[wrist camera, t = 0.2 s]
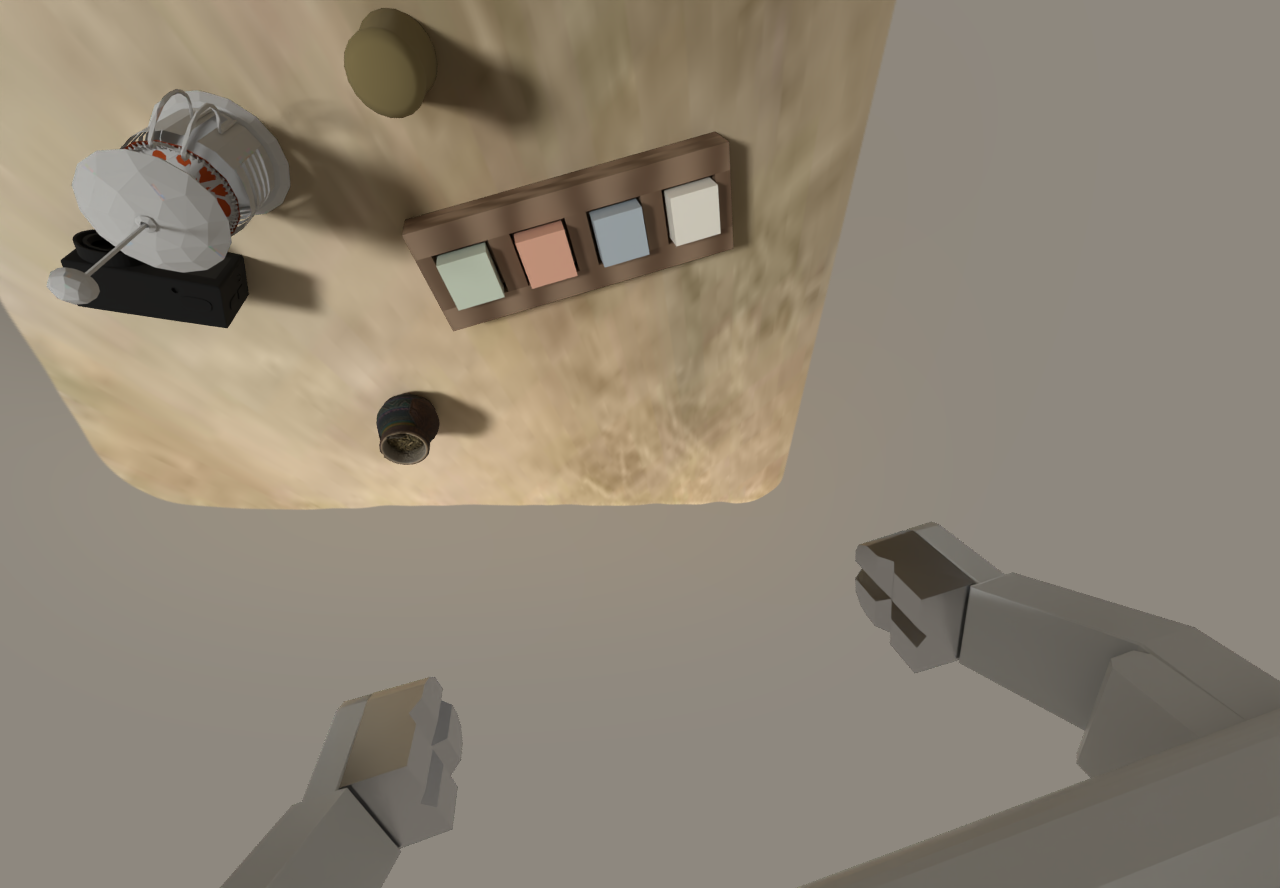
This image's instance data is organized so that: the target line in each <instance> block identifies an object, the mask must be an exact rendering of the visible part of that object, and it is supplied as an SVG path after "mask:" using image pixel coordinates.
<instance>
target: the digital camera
mask: <svg viewBox="0 0 1280 888" xmlns="http://www.w3.org/2000/svg"><path fill="white" fill-rule="evenodd" d="M73 242H74V245H75V247H76V249H75V250H73V251H72V252H71V253H69V254H68V255H67V256H65V257H64V258H63V259H62V260H61V263H62V266H63V267H66V268H72V269H76V270H79V271H81V272H84V273H85V272H87V271H88V270H89V269H90V268H91V267H92V266H94V265H95V264H96V263H97V262H98V261H99V260H101V259H102V258H103V257H104V256H105V255H107V254H108V253H109V252H110V251H111V250H112V249H114V248H115V246H114V245H112V244H111V243H110V242H108V241H107V240H106V239H104V238H103V237H102V236H100V235H99V234H98V232H97V231H96V230H87V231H82V232H79V233H77V234H76V235H75V236H74V237H73ZM239 263H240V264H239ZM90 277H92V278H93V279H94V280H95V282H96V283H97V284H98V287H99V290H100V292H99V294H98V296H97V298H96V299H94V300H92V301H91V302H89V303H88V304H77V305H78V306H82V307H88V308H94V309H101V310H107V311H114V312H120V313H127V314H134V315H140V316H147V317H154V318H161V319H167V320H174V321H181V322H188V323H194V324H201V325H208V326H215V327H222V328H228V327H229V325H230V324H231V322H232V321H233V319H234V317H235V316H236V314H237V312H238V311H239V309H240V308H241V306H242V304H243V303H244V301H245V299H246V298H247V296H248V295H249V293H248V286H247V279H246V271H245V264H244V258H243V256H242V255H238V254H233V253H228V252H227V254H226V256H225V258H224V260H222V261H221V262H219V263H217V264H216V265H214V266H213V267H211V268H209V269H208V270H202V271H193V272H184V273H182V272H177V271H172V270H166V269H161V268H155V267H153V266H151V265H148V264H146V263H144V262H142V261H139V260H137V259H135V258H133V257H130V256H128V255H126V254H124V253H123V252H122V251H119V252H117V253H116V254H115V255H114V256H113V257H112V258H111V259H109V260H108V261H107V262H106V263H105V264H104V265H102V266H101V267H100V268H99V269H98V270H97V271H96V272H94V273H93V274H92V275H91V276H90ZM240 278H241V279H240ZM239 280H240V281H239Z"/></svg>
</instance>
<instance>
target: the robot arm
mask: <svg viewBox="0 0 1280 888" xmlns="http://www.w3.org/2000/svg"><path fill="white" fill-rule="evenodd" d="M856 562H857V563H858V564H859V565H860V566H861V568H862V569H861V571H860V572H859V574H858V575H857V577H856V579H855V581H856V593H857V596H858V599H859V602H860V605H861V607H862V608H863V610H864V612H865V613H866V615H867V616H868V618H869V619H870V620H871V622H872V623H873V624H874V625H875V626H877V627H879V628H881V629H883V630H886V631H888V632H890V644H891V646H892V647H893V648H894V649H895V651H896V652H897V653H898V654H899V655H900V657H901V658H902V659H903V660H904V661H905V662H906V664H907V665H908V666H909V667H910V668H911V669H912V671H913V672H914V673H918V672H921V671H925V670H928V669H931V668H934V667H938V666H941V665H944V664H948V663H951V662H954V661H957V660H959V663H960V664H962V665H964V666H966V667H968V668H970V669H972V670H973V671H975V672H977V673H979V674H981V675H983V676H984V677H986V678H988V679H990V680H992V681H994V682H995V683H998V684H999V685H1001V686H1003V687H1005V688H1007V689H1008V690H1010V691H1012V692H1014V693H1016V694H1018V695H1020V696H1021V697H1023V698H1025V699H1027V700H1029V701H1031V702H1033V703H1034V704H1036V705H1038V706H1040V707H1042V708H1044V709H1045V710H1047V711H1049V712H1051V713H1053V714H1055V715H1057V716H1058V717H1060V718H1062V719H1064V720H1066V721H1068V722H1070V723H1071V724H1074V725H1075V726H1077V727H1079V728H1081V729H1083V730H1084V731H1085V732H1084V735H1083V737H1082V740H1081V743H1080V746H1079V748H1078V751H1077V764H1078V765H1079V766H1080V767H1081V769H1082V770H1083V771H1084V772H1085V773H1086V774H1087V775H1088V776H1089V777H1090V779H1088V780H1085V781H1082V782H1080V783H1077V784H1074V785H1072V786H1069V787H1067V788H1064V789H1061V790H1058V791H1056V792H1053V793H1050V794H1048V795H1045V796H1042V797H1039V798H1037V799H1034V800H1031V801H1029V802H1026V803H1023V804H1021V805H1018V806H1015V807H1012V808H1010V809H1007V810H1005V811H1002V812H999V813H996V814H994V815H991V816H988V817H986V818H983V819H980V820H978V821H975V822H972V823H970V824H967V825H965V826H961V827H959V828H956V829H953V830H951V831H948V832H945V833H943V834H940V835H937V836H935V837H932V838H929V839H926V840H924V841H921V842H918V843H916V844H913V845H910V846H908V847H905V848H902V849H900V850H897V851H894V852H892V853H889V854H886V855H883V856H881V857H878V858H875V859H873V860H870V861H867V862H865V863H862V864H859V865H857V866H854V867H851V868H848V869H846V870H843V871H840V872H838V873H835V874H832V875H830V876H827V877H824V878H822V879H819V880H816V881H814V882H811V883H808V884H806V885H803V886H800V887H797V888H1280V681H1279V680H1277V679H1275V678H1274V677H1272V676H1271V675H1269V674H1268V673H1266V672H1264V671H1263V670H1261V669H1260V668H1258V667H1257V666H1255V665H1253V664H1252V663H1250V662H1248V661H1247V660H1246V659H1244V658H1242V657H1241V656H1239V655H1238V654H1236V653H1234V652H1233V651H1231V650H1230V649H1228V648H1227V647H1225V646H1223V645H1222V644H1220V643H1218V642H1217V641H1215V640H1214V639H1212V638H1211V637H1209V636H1207V635H1206V634H1204V633H1203V632H1201V631H1200V630H1198V629H1196V628H1195V627H1192V626H1189V625H1185V624H1182V623H1179V622H1175V621H1172V620H1168V619H1165V618H1162V617H1159V616H1156V615H1152V614H1149V613H1145V612H1142V611H1139V610H1135V609H1132V608H1129V607H1126V606H1123V605H1119V604H1116V603H1112V602H1109V601H1105V600H1103V599H1099V598H1096V597H1093V596H1089V595H1086V594H1083V593H1079V592H1076V591H1072V590H1070V589H1066V588H1063V587H1060V586H1056V585H1053V584H1050V583H1046V582H1043V581H1040V580H1036V579H1033V578H1030V577H1026V576H1023V575H1020V574H1017V573H1009V574H1006V575H1005V574H1004V573H1002V572H1001V571H1000V570H999V569H997V568H996V567H995V566H993V565H992V564H990V563H989V562H988V561H987V560H985V559H984V558H982V557H981V556H980V555H979V554H977V553H976V552H975V551H974V550H972V549H971V548H970V547H968V546H967V545H965V544H964V543H963V542H962V541H960V540H959V539H958V538H956V537H955V536H954V535H953V534H951V533H950V532H949V531H947V530H946V529H945V528H943V527H942V526H941V525H939V524H937V523H934V522H929V523H925V524H922V525H919V526H916V527H913V528H910V529H907V530H905V531H900V532H897V533H894V534H891V535H888V536H884V537H881V538H878V539H875V540H872V541H869V542H866V543H863V544H860V545H858V547H857V549H856ZM442 691H443V688H442V687H441V685H440V684H439V682H438V681H437V679H436V678H435V677H428V678H425V679H421V680H417V681H414V682H410V683H407V684H403V685H400V686H396V687H393V688H389V689H386V690H382V691H378V692H375V693H373V694H370V695H366V696H362V697H359V698H355V699H352V700H348V701H345V702H344V703H343V704H342V705H341V706H340V707H339V708H338V709H337V711H336V713H335V716H334V718H333V721H332V724H331V726H330V729H329V731H328V734H327V737H326V739H325V742H324V745H323V747H322V750H321V752H320V755H319V758H318V761H317V763H316V766H315V768H314V771H313V773H312V776H311V779H310V781H309V784H308V787H307V789H306V792H305V794H304V797H303V800H302V802H300V803H297V804H294V805H292V806H291V807H290V808H289V809H288V810H287V811H286V813H285V814H284V815H283V816H282V817H281V818H280V819H279V821H278V822H277V823H276V824H275V825H274V826H273V827H272V829H271V830H270V831H269V832H268V833H267V834H266V836H265V837H264V838H263V839H262V840H261V841H260V842H259V844H258V845H257V846H256V847H255V848H254V849H253V850H252V852H251V853H250V854H249V855H248V856H247V857H246V858H245V860H244V861H243V862H242V863H241V864H240V865H239V866H238V868H237V869H236V870H235V871H234V872H233V873H232V874H231V876H230V877H229V878H228V879H227V880H226V881H225V882H224V884H223V885H222V886H221V887H220V888H381V887H382V885H383V883H384V882H385V879H386V878H387V876H388V874H389V873H390V871H391V869H392V867H393V865H394V864H395V862H396V860H397V858H398V856H399V855H400V853H401V851H400V849H401V848H403V847H406V846H409V845H411V844H414V843H417V842H419V841H422V840H425V839H428V838H430V837H433V836H436V835H438V834H441V833H444V832H447V831H449V830H452V829H453V821H454V813H455V804H456V797H457V788H458V787H457V785H456V783H455V782H454V780H453V779H452V777H451V774H452V773H453V771H454V770H455V768H456V767H457V765H458V764H459V762H460V761H461V754H462V732H461V724H460V721H459V718H458V715H457V713H456V711H455V709H454V707H453V705H451V704H449V703H446V702H444V701H441V697H442Z"/></svg>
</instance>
